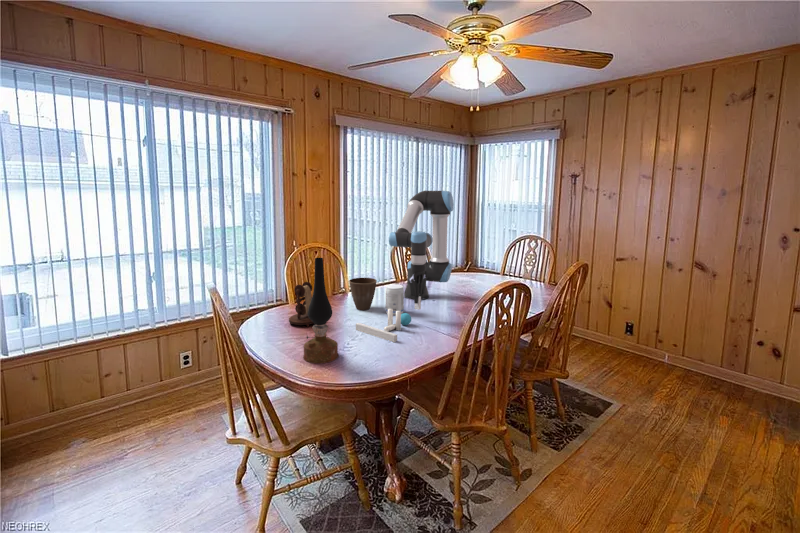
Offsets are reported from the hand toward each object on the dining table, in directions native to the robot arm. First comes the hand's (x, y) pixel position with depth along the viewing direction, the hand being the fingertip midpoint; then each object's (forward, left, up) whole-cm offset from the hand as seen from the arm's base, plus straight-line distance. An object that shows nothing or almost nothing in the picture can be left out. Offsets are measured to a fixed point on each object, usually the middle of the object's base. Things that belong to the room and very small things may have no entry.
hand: (417, 308), depth 210 cm
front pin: (+15, 0, -5) cm, 16 cm away
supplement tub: (-1, -17, -6) cm, 18 cm away
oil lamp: (+63, +1, -6) cm, 63 cm away
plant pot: (+5, -35, -6) cm, 36 cm away
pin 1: (+18, -2, -6) cm, 19 cm away
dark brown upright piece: (+42, -38, -6) cm, 56 cm away
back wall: (+31, 0, -6) cm, 31 cm away
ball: (+10, 0, -3) cm, 11 cm away
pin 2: (+18, +3, -6) cm, 19 cm away
